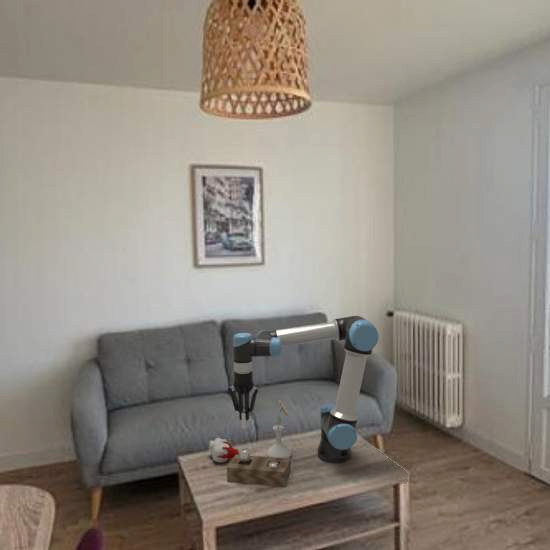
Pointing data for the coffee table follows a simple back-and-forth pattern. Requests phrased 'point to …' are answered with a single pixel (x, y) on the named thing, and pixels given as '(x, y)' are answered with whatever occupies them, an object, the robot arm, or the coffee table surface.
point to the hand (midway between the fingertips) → (244, 427)
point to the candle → (222, 450)
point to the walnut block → (259, 471)
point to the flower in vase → (279, 440)
